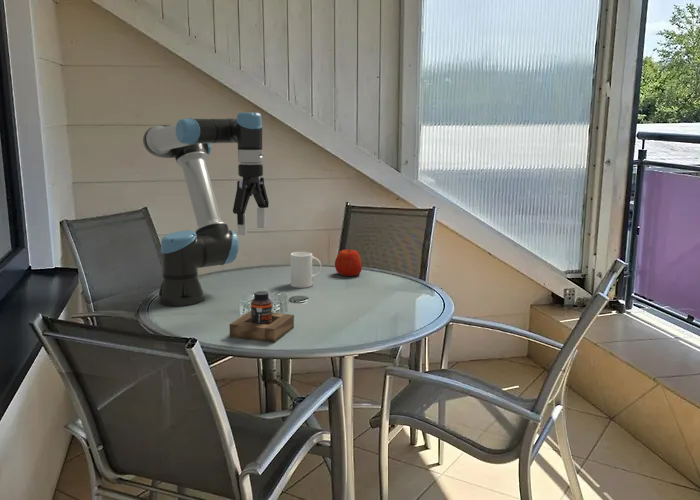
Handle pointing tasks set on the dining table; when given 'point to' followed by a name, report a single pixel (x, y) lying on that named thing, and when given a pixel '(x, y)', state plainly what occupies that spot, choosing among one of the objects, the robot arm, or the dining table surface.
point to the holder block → (262, 328)
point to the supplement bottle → (261, 308)
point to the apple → (348, 263)
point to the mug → (302, 269)
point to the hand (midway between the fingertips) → (252, 231)
